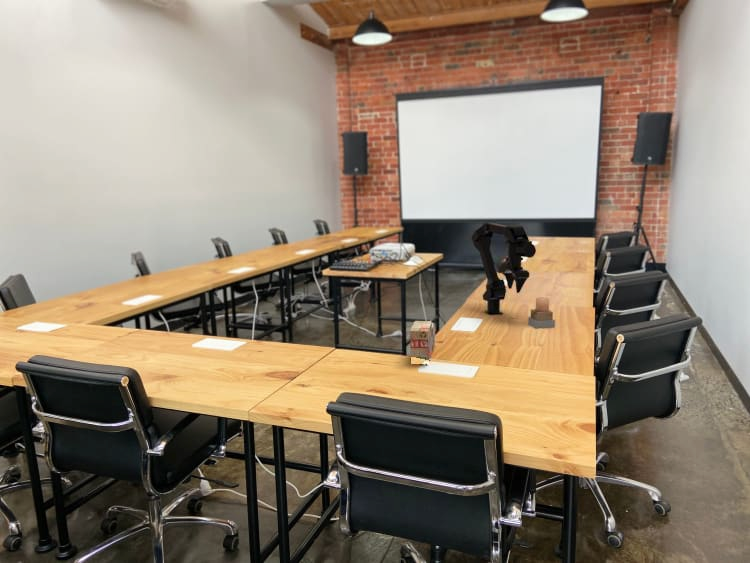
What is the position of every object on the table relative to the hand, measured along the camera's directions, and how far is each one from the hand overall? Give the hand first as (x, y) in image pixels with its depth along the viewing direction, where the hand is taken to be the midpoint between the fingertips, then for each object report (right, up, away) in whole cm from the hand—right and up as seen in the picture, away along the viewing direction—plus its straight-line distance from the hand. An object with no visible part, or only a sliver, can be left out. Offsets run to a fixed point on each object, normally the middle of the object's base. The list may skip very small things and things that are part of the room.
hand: (513, 290), depth 235 cm
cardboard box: (-43, -23, -42) cm, 64 cm away
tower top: (+9, -12, -9) cm, 17 cm away
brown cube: (+9, -8, -10) cm, 16 cm away
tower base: (+9, -15, -8) cm, 19 cm away
